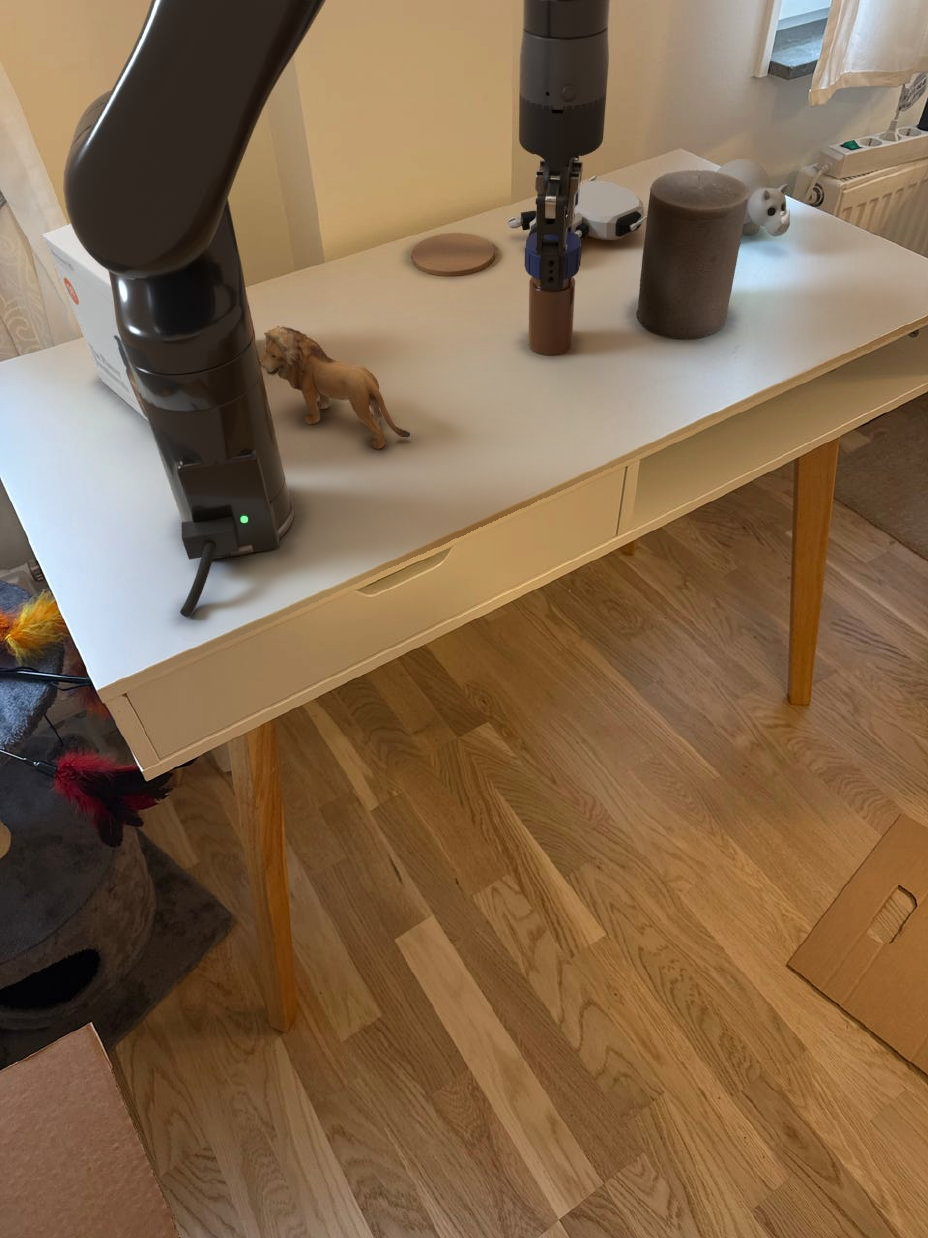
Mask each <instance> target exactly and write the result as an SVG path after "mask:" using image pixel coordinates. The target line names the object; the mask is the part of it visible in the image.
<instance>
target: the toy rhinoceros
mask: <svg viewBox="0 0 928 1238" xmlns="http://www.w3.org/2000/svg"><path fill="white" fill-rule="evenodd" d="M716 172H718V173H721V174H726V175H729V176H732V177H734V178H736V179H738V180H740V181H742V182H743V183H744V184H745V185H747V186H748V190H749V191H750V193H751V194H750V196H749V199H748V203H747V208H746V213H745V218H744V223H743V230H742V236H743V235H744V236H753V235H756V234H758V233H759V231H760V229H761V227H763V228H764V230H765V231H766V233H767V234H768V235H769V236H771V237H781V236H783V235H784V234H786V232H787V231H788V230H789V228H790V225H791V209H790V208H788V209H787V199H786V193H787V190H788V186H789V185H788V183H784V184H782V185H781V186H779V187H778V188H775V187H771V186H772V185H771V180H770V177H769V174H768V172H767V170H766V169H765V168H764V167H763V166H762V165H761V164H760V163H758V161H755V160H753V159H750V158H736V159H733V160H729V161H727V162H725V164H723V165H721V167H720V168H719V169H717V170H716Z"/></svg>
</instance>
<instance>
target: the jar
mask: <svg viewBox="0 0 928 1238" xmlns="http://www.w3.org/2000/svg"><path fill="white" fill-rule="evenodd" d="M528 287H529V288H528V335H527V336H528V340H527V341H528V343H527V345H528V347H529V349H530V350H531V351H532V352H534V353H536V354H538V355H542V356H558V355H561V354H564V353H566V352H568V351H569V350H570V349H571V348H572V345H573V333H574V316H575V315H574V314H575V298H576V297H575V296H576V279H575V277H574V276H573V277H571V278H569V279H565V280H564V284H563V288H562V289H561V290H559V291H554V290H543V289H542V288H541V287H540V279H536V278H534V277H532V276H530V278H529V285H528Z"/></svg>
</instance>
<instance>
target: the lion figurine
mask: <svg viewBox="0 0 928 1238" xmlns="http://www.w3.org/2000/svg"><path fill="white" fill-rule="evenodd" d="M263 334H264V336H265V342H264V343H265V347H264V352H265V353H264V354H263V356H262V358H261V359H259V360H260V365H261V368H263V369H264V370H265V371H266V373H267V375H268V376H269V377H273V376H275V375H277V376H278V377H279V378H280V379H282V380H285V381H287V382H288V383H289V385H290V387H291V388H293V389H294V390H297V391H300V392H301V394H302V397H303V400H304V402H305V404H306V406H307V408H308V410H309V413H310V414H307V415H306V416H305V419H304V421H305V423H306V424H307V425H314V424H317V423H318V422H319V421H320V420H321V412H320V410H325V409H327V408H329V407H330V404H331V403H330V399H333V400H337V401H348V400H349V404H350V406H351V408H352V410H353V412H354V413H355V415H356V416H357V418H358V420H360V421H361V423H362V424H364V426H366V428H368V429H369V430H370V431H371V433H372V434H373V435H374V438H372V440H371V446H372V448H374V449H378V450H379V449H381V448H383V447H384V446H385V445H386V436H385V433H384V431H383V428H382V426H381V424H380V423H381V421H382V418H383V419H384V420H385V422H386V424H387V425H388V427H389V428H390V430H392V431H393V432H394V433H395V434H396V435H397V436H399V437H401V438H402V439H403V438H406V439H409V438H410V437H411V436H412V435H411V432H409V431H408V430H405V429H402V428H400V427H398V426H397V425H395V423H394V422H393V419H392V418H391V416H390V414H389V411H388V409H387V406H386V404H385V401H384V398H383V395H382V393H381V391H380V384H379V381H378V379H377V377H376V376H375V375H374V373H373V372H372V371H370V370H369V369H368V368H367V367H364V366H361V365H360V366H359V365H352V364H347V363H344V362H341V361H339V360H336V359H333V358H331V357H329V356H328V355H327V353H325V351H324V350H323V348H322V347H321V345H320V344H319V343H318V342H317V341H315V340H314V339H313V338H312V337H309V336H308V335H307V334H306V333H302V332H301V331H300V330H297V329H293V328H292V327H286V326H280V325H277V326H275V327H274V328H271V329H269V330H268V331H266V332H263ZM371 410H372V411H371Z"/></svg>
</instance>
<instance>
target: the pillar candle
mask: <svg viewBox="0 0 928 1238" xmlns="http://www.w3.org/2000/svg"><path fill="white" fill-rule="evenodd" d="M649 191H650V192H649V197H648V204H647V212H646V213H647V214H646V216H647V219H646V220H645V221H646V222H645V230H644V231H645V232H644V233H645V234H644V242H643V249H642V256H641V270H640V278H639V289H638V299H637V300H638V302H637V309H636V319H637V322H638V323H639V324H641V326H642V327H643V328H644V329H645V330H647V331H648V332H651V334H655V335H658V336H661V337H667V338H670V339H671V338H672V339H681V340H683V339H685V340H686V339H687V340H691V339H693V340H694V339H699V338H704V337H706V336H711V335H713V334H715V333H716V332H719V330H721V329H722V328H723V327H724V326H725V323H726V321H727V318H728V317H727V316H728V309H729V304H730V300H731V294H732V290H733V286H734V285H733V284H734V280H735V279H734V278H735V274H736V273H735V272H736V268H737V262H738V256H739V252H740V246H741V239H742V236H743V234H742V230H743V223H744V218H745V213H746V208H747V203H748V199H749V196H750V194H751V193H750V191H749V190H748V186H747V185H745V184H744V183H743V182H742V181H740V180H738V179H736V178H734V177H732V176H729V175H726V174H721V173H718V172H717V171H715V170H711V169H703V170H700V169H691V170H689V169H687V170H677V171H673V172H672V171H671V172H668V173H665V174H662V175H661V176H659V177H657V178H656V179H655V180H654V181H653V182H652V183H651V186H650V188H649Z"/></svg>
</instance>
